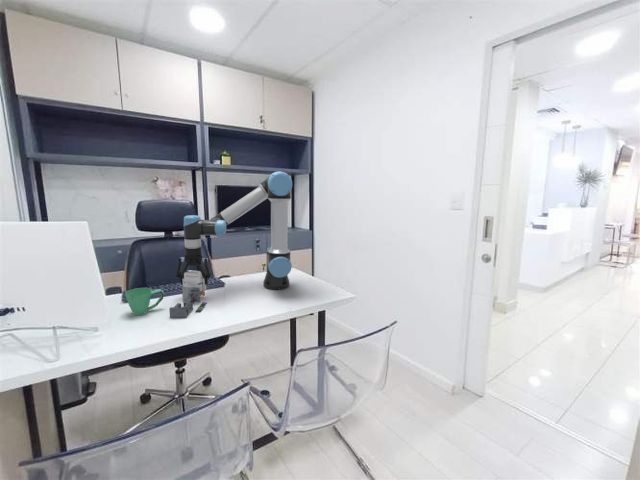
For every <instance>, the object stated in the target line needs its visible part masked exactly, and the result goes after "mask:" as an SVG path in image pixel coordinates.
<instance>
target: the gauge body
mask: <svg viewBox="0 0 640 480" xmlns="http://www.w3.org/2000/svg"><path fill="white" fill-rule="evenodd" d="M207 304H208V302H206V301H205V302H204V301H203V302H201V304H200V305H199V306H198V307H197V308H196V310H195V314H197V313H198V314H199V313H202V311H203V310H204V308H205V306H206V305H207ZM193 310H194V302H193V303H189V304H188V305H187V306H186V307H184V306H182V303H180V302H179V303H178V302H177V303H176V304H175V305H174V306H170V307H169V319H187V318H188V316H189V315H190V314H191V313H192V312H193Z"/></svg>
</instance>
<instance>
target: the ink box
mask: <svg viewBox="0 0 640 480" xmlns="http://www.w3.org/2000/svg"><path fill="white" fill-rule="evenodd" d="M203 278H204V277H203V275H202V273H201V271H200V270H190V269H188V270H187V271H186V272H185V273H184V287H200V292H205V293H206V290H205V291H203ZM201 296H203V294H200V297H201Z"/></svg>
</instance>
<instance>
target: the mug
mask: <svg viewBox="0 0 640 480" xmlns="http://www.w3.org/2000/svg"><path fill="white" fill-rule="evenodd" d="M157 293H158V294H159V293H160V297H159V298H158V300H157V301H156V302H155V303H154V304H152V305H150V302H151V296H152V295H154V294H157ZM164 295H165V292H164V291H163V290H162V289H161V288H157V289H154V290H152V288H149V287H138V288H133V289H130V290H127V291H126V292H125V299H126V300H127V303H128V307H129V308H130V310H131V312H132V313H133V315H135V316H142V315H145V314H147V312H149V311H150V310H152V309H154V308H156V307H157V306H158V305H159V304H160V303H161V302H162V301H163V299H164ZM149 305H150V306H149Z"/></svg>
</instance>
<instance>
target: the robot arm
mask: <svg viewBox="0 0 640 480" xmlns="http://www.w3.org/2000/svg"><path fill="white" fill-rule="evenodd" d="M292 189H293V180H292V178H291V177H290V175H289V174H288V173H286V172H284V171H275V172H273V173H271V174H270V175H269V176H268V177H266V179H264V180H263V181H262V182H260V183H259V185H258V187H256V188H254V189H253V190H252V191H251V192H249V193H247V194H246V195H245V196H243V197H242V198H240V199H239V200H237V201H235V202H234V203H232V204H231V205H230V206H228V207H226V208H225V209H223V210H222V211H221V212H219V213H217V215H215V216H213V217H211V218H210V219H201V216H200V215H194V214H193V215H185V216H183V237H184V247H185V248H184V255H185V256H184V257H183V256H181V257H179V258H178V267H177V270H176V271H177V272H176V278H180V285H182V288H183V287H184V273H185V272H186V271H189V268H190V267H191V266H195V267H197V268H198V269H199V270H198V271H201V273H202V275H203V277H204V278H203V291H205V292H206V291H207V285H208V284H209V278H211V277H212V271H211V267H210V264H209V258H208V257H203V255H202V247H201V246H202V236H225V235H226V233H227V226H228V225H230V224H231V223H233V222H234V221H236V220H237V219H239V218H240V217H242V216H243V215H245V214H246V213H248V212H249V211H252V210H253V209H254V208H255V207H257V206H258V205H260V204H261V203H262V202H264V201H266V200H267V199H268V200H269V202H270V246H269V247H267V248H266V252H265V253H266V273H265V276H264V279H263V282H262V283H263V288H265V289H267V290H272V291H273V290H274V291H279V290H280V291H281V290H284V289H287V288H289V287H290V279H289V276H288V275H289V274H290V273H291V270H292V268H293V266H292V265H293V264H292V262H291V249H289V248H288V245H289V244H288V242H289V241H288V238H289V237H288V234H289V232H288V227H289V226H288V224H289V222H288V221H289V215H288V214H289V212H288V211H289V202H290V201H291V200H292ZM184 262H186V264H185V266H184V269H183V265H184ZM202 262H203V263H202ZM203 264H204V266H203Z"/></svg>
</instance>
